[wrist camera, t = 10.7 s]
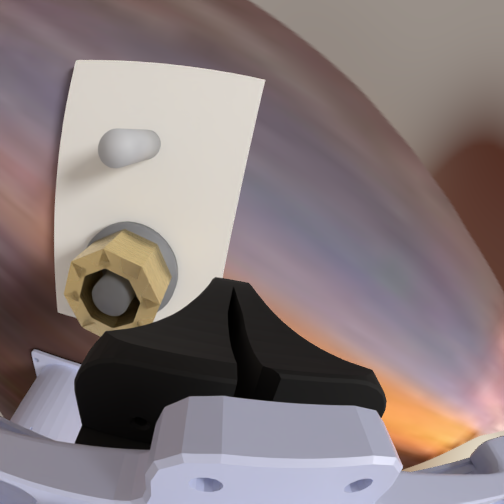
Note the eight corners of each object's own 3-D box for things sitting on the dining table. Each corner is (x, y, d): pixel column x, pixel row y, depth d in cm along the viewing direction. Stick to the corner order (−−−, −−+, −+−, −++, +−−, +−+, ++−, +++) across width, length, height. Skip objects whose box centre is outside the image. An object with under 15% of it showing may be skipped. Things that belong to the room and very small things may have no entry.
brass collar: (181, 298, 20) (172, 329, 17) (112, 318, 20) (95, 348, 17) (147, 219, 18) (129, 238, 15) (76, 248, 19) (51, 269, 15)
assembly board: (209, 339, 23) (203, 396, 18) (63, 306, 22) (27, 349, 16) (263, 82, 17) (274, 60, 12) (82, 62, 16) (34, 44, 10)
